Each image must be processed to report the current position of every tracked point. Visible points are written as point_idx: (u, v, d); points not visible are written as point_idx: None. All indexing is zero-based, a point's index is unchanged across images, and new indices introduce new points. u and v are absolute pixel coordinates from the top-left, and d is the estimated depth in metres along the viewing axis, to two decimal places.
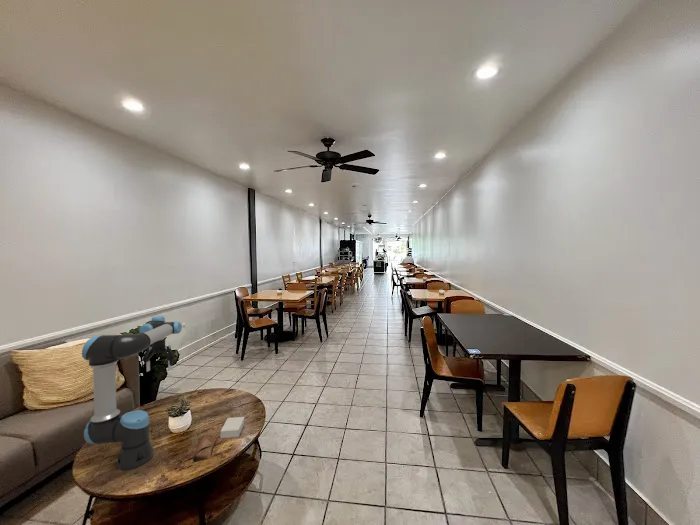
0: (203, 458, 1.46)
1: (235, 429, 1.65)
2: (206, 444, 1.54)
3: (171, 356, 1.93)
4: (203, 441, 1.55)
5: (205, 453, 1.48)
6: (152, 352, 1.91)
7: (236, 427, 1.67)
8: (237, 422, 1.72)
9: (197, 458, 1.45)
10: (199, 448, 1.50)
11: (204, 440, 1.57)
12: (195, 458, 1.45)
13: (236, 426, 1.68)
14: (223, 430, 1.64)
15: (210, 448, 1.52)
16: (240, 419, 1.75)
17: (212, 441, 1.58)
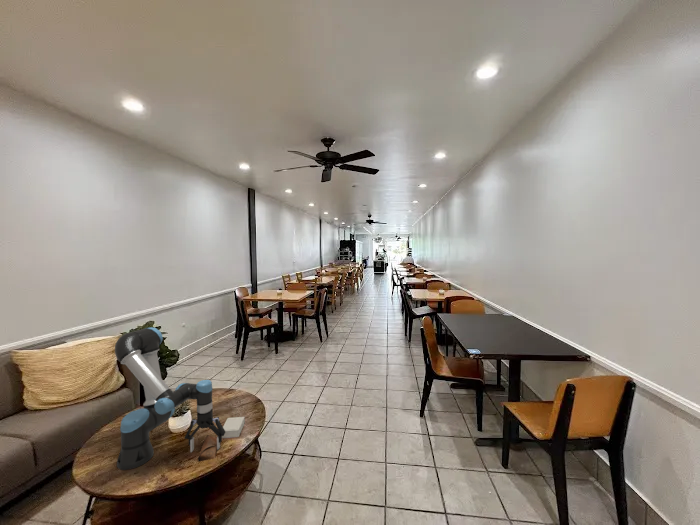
0: (208, 458, 1.46)
1: (235, 429, 1.65)
2: (211, 443, 1.54)
3: (221, 431, 1.54)
4: (207, 441, 1.56)
5: (209, 452, 1.49)
6: (197, 427, 1.52)
7: (236, 427, 1.67)
8: (237, 422, 1.72)
9: (201, 458, 1.45)
10: (204, 448, 1.50)
11: (208, 439, 1.57)
12: (200, 457, 1.45)
13: (236, 426, 1.68)
14: None
15: (214, 448, 1.53)
16: (240, 419, 1.75)
17: (216, 441, 1.58)
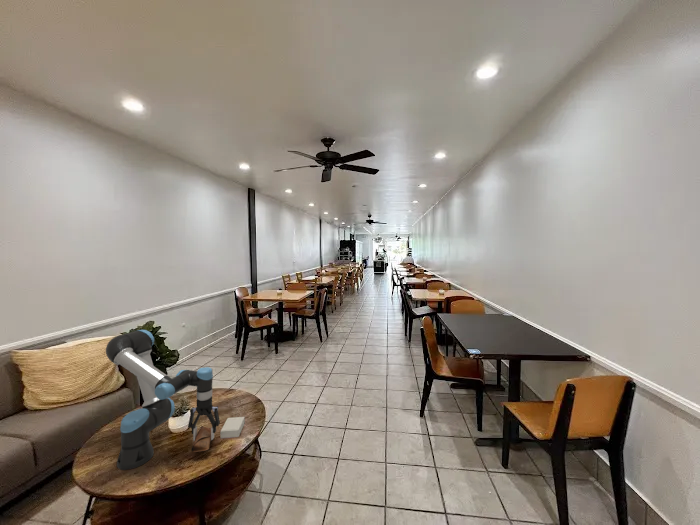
0: (201, 448, 1.46)
1: (235, 429, 1.65)
2: (205, 434, 1.54)
3: (216, 422, 1.53)
4: (202, 431, 1.55)
5: (203, 443, 1.48)
6: (198, 415, 1.52)
7: (236, 427, 1.67)
8: (237, 422, 1.72)
9: (195, 448, 1.45)
10: (198, 438, 1.49)
11: (202, 430, 1.56)
12: (194, 447, 1.45)
13: (236, 426, 1.68)
14: (223, 430, 1.64)
15: (208, 438, 1.52)
16: (240, 419, 1.75)
17: (210, 432, 1.58)
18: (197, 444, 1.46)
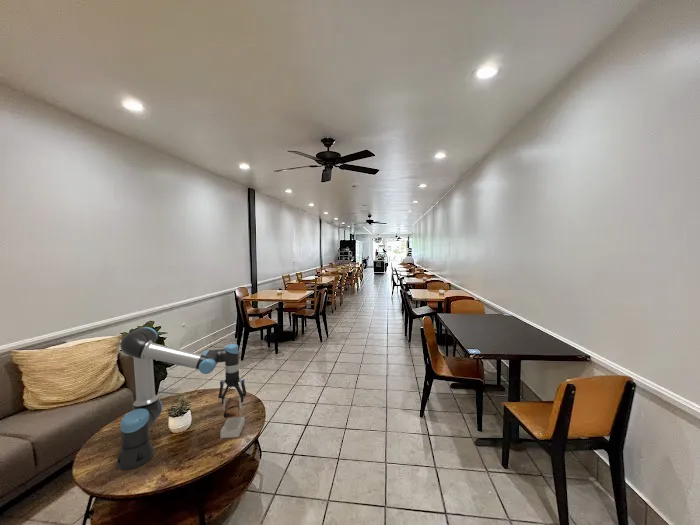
0: (232, 415, 1.62)
1: (235, 429, 1.65)
2: (233, 404, 1.70)
3: (243, 392, 1.70)
4: (230, 402, 1.72)
5: (233, 410, 1.65)
6: (227, 386, 1.69)
7: (236, 427, 1.67)
8: (237, 422, 1.72)
9: (226, 415, 1.61)
10: (228, 406, 1.66)
11: (231, 401, 1.73)
12: (225, 414, 1.61)
13: (236, 426, 1.68)
14: (223, 430, 1.64)
15: (237, 407, 1.69)
16: (240, 419, 1.75)
17: (238, 402, 1.75)
18: (228, 411, 1.63)
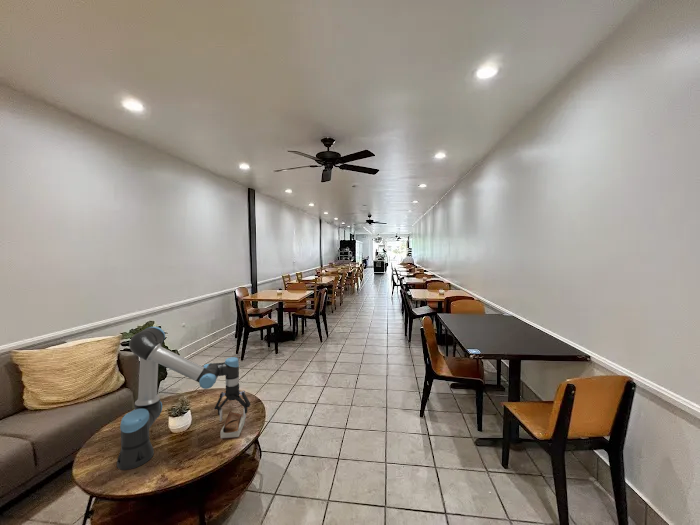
0: (232, 429, 1.62)
1: None
2: (233, 417, 1.71)
3: (246, 403, 1.71)
4: (230, 415, 1.72)
5: (233, 425, 1.65)
6: (226, 399, 1.69)
7: None
8: None
9: (226, 429, 1.62)
10: (228, 421, 1.66)
11: (231, 414, 1.73)
12: (225, 429, 1.61)
13: None
14: None
15: (237, 421, 1.69)
16: (240, 419, 1.75)
17: (238, 416, 1.75)
18: (228, 426, 1.63)
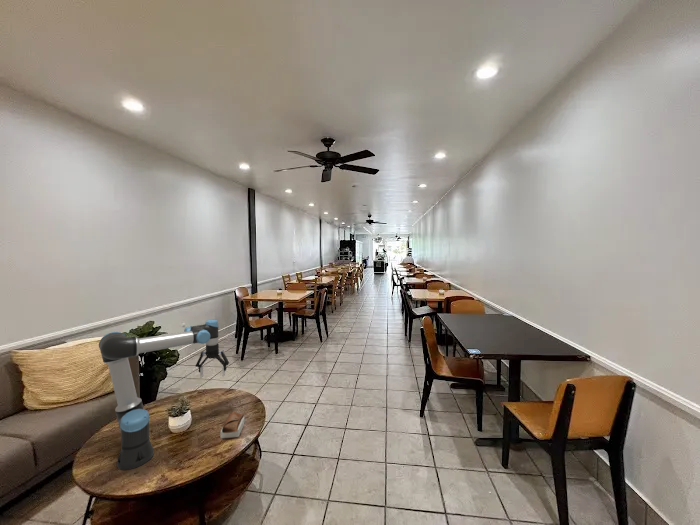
0: (230, 430, 1.62)
1: None
2: (234, 418, 1.70)
3: (225, 361, 1.85)
4: (231, 415, 1.72)
5: (232, 425, 1.65)
6: (206, 357, 1.83)
7: None
8: None
9: (225, 429, 1.62)
10: (227, 421, 1.66)
11: (232, 414, 1.73)
12: (224, 428, 1.61)
13: None
14: None
15: (237, 422, 1.68)
16: None
17: (239, 416, 1.74)
18: (227, 426, 1.63)
